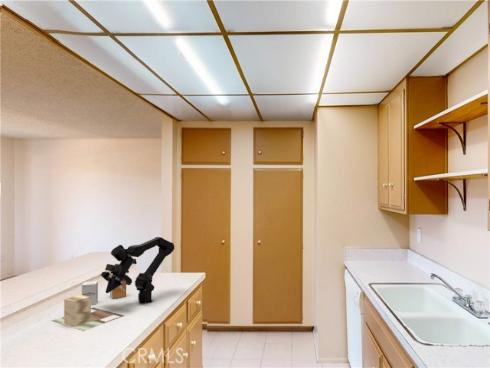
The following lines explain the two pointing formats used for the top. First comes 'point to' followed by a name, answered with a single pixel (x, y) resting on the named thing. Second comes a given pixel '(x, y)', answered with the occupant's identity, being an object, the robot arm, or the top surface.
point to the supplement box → (91, 291)
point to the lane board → (95, 319)
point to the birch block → (77, 310)
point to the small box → (119, 291)
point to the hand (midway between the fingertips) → (106, 292)
